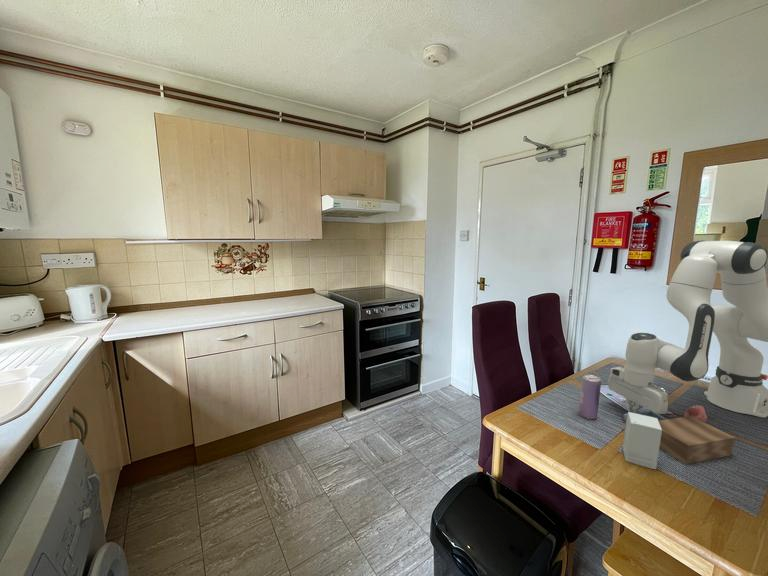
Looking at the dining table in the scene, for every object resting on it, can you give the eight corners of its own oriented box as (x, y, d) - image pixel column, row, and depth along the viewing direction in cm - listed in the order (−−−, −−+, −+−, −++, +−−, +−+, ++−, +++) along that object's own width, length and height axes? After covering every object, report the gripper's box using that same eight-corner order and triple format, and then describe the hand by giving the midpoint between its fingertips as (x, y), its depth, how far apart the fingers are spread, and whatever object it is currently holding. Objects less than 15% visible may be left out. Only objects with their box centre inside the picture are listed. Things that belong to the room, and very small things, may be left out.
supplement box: (656, 470, 92) (662, 430, 90) (624, 461, 96) (629, 422, 94) (652, 455, 99) (658, 417, 97) (622, 447, 102) (627, 410, 100)
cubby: (687, 432, 110) (690, 415, 109) (731, 455, 99) (735, 437, 98) (645, 439, 106) (647, 422, 106) (685, 464, 95) (688, 445, 94)
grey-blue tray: (649, 416, 120) (650, 410, 119) (709, 449, 101) (711, 442, 101) (622, 420, 117) (623, 413, 117) (679, 454, 99) (681, 447, 99)
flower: (714, 408, 114) (698, 397, 115) (716, 426, 109) (700, 415, 110) (692, 415, 120) (677, 405, 121) (693, 432, 115) (678, 422, 116)
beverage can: (600, 420, 117) (604, 382, 115) (581, 419, 118) (586, 380, 116) (592, 412, 123) (597, 375, 120) (575, 410, 124) (579, 373, 121)
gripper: (675, 389, 108) (669, 427, 110) (620, 365, 128) (615, 397, 130) (660, 391, 107) (654, 429, 109) (606, 366, 126) (602, 399, 129)
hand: (633, 412), depth 120 cm, fingers closed
